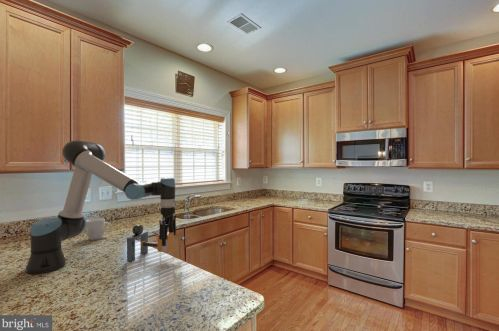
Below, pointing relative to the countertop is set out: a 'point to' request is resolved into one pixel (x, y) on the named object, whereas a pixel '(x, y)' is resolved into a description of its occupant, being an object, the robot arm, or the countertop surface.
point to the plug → (169, 242)
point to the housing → (131, 242)
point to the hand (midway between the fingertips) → (168, 249)
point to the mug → (96, 228)
